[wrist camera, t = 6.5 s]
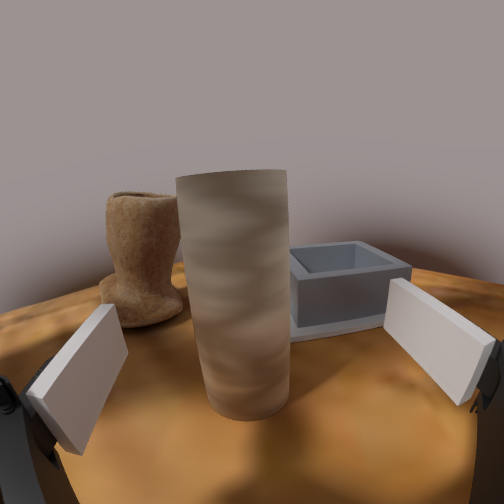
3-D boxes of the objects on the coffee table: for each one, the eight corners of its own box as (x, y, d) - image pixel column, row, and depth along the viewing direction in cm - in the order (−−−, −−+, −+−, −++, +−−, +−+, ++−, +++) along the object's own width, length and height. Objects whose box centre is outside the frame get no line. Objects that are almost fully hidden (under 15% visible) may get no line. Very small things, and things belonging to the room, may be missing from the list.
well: (285, 343, 24) (285, 288, 23) (263, 283, 40) (261, 245, 38) (422, 316, 26) (430, 268, 24) (362, 272, 41) (364, 238, 40)
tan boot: (211, 316, 31) (197, 181, 27) (111, 344, 24) (80, 197, 21) (171, 280, 43) (160, 187, 39) (101, 296, 37) (84, 198, 33)
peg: (206, 423, 15) (164, 177, 11) (208, 370, 21) (184, 179, 17) (297, 414, 16) (299, 168, 12) (281, 363, 21) (275, 173, 18)
